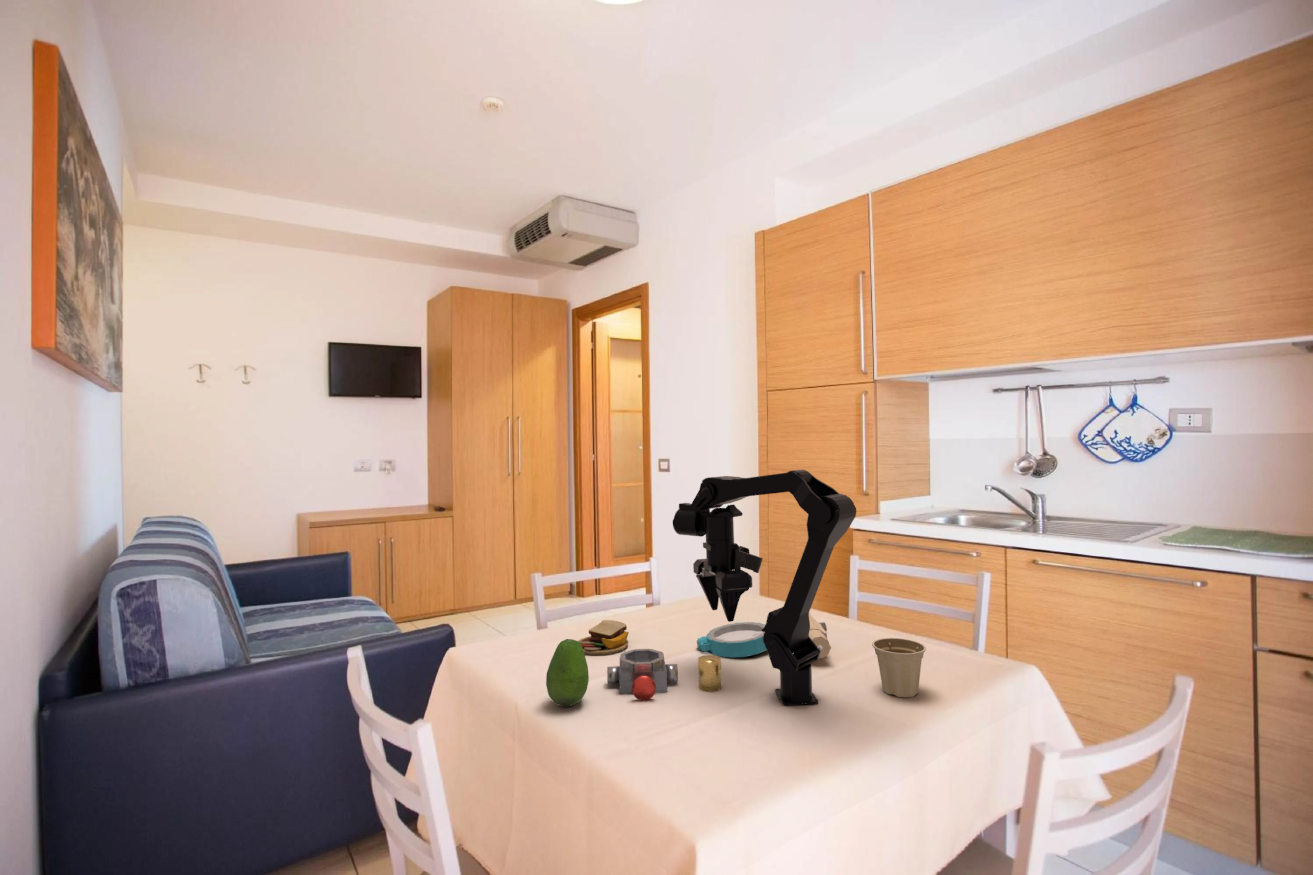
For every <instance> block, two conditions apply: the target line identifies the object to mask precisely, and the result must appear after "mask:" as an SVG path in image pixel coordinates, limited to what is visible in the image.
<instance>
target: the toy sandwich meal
mask: <svg viewBox="0 0 1313 875" xmlns="http://www.w3.org/2000/svg"><path fill="white" fill-rule="evenodd" d="M627 630H628V628H627V624H625V623H624V622H621V621H617V620H611V619H603V620H602V621H601V622H599V623H598V624H596V625H595V626H593V627H591V628H590V629H588V634H589V635H590V636H586V637H583V638H580V639H579V640H578V641H579V642H580V643H581V645H582V648H583V651H584V655H590V656H608V655H613V654H616V653H619V652H622V651H623V650H625V648H626V647H627V646H628V645H629V640H628V636H629V634H630V633H629V631H627Z"/></svg>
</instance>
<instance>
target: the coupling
mask: <svg viewBox="0 0 1313 875" xmlns="http://www.w3.org/2000/svg"><path fill="white" fill-rule="evenodd" d="M697 666H698V667H697V668H698V688H699V690H701V691H702V692H708V693H710V692H711V693H713V692H718V691H721V689H722V658H721V656H717V655H714V654H705V655H701V656H698V658H697Z"/></svg>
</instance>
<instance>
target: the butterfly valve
mask: <svg viewBox="0 0 1313 875" xmlns="http://www.w3.org/2000/svg"><path fill="white" fill-rule="evenodd" d="M809 621H810V630H809V635H808V636H809V637H810V638H811V640H812V641H813V642H814V643H815V645H816V646H817V647H818V648H819V650H820V655H819V658H818V659H823V658H825V657H827V656H828V655H829V654H830V651H831V648H832V647H831V644H830V642H829V639H828V632H827V631H828V630H827V629H828V628H827V624H826V623H825V622H824V621H823V622H818V621H817V619H815V617H814V616H813V615H812V614H811V613H810V612H809ZM765 625H766V623H765V624H764V623H761V622H753V621H750V622H749V621H744V622H733V623H728V624H723V625H720V626H718V627H714V628H713V629H711V630H709V632H708V633H706V636H701V637H698V638H697V640H696V647H697V649H698V651H701V652H707V651H709V652H710V653H711V654H712V655H715V656H718V657H720V658H721V657H722V658H724V657H725V658H745V657H749V656H755V655H759V654H761V653H764V652H765V651H767V649H766V647H765V644H764V643H763V635H764V633H765V632H762V629H763V628H764V627H765Z"/></svg>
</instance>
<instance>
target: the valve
mask: <svg viewBox="0 0 1313 875" xmlns="http://www.w3.org/2000/svg"><path fill="white" fill-rule="evenodd" d="M619 655H620V656H619V665H617V666H615V665H613V666H607V670H606V673H607V675H606V678H607V679H606V680H607V685H616V684H619V695H630V694H631V695H633V696H634V698H636V699H637V700H639V701H642V702H645V701H649V700H651V699H652V698H653V697H654V696H655V695H656V693H668V682H679V671H678V663H670V664H669V663H666V661H665V655H664V652H663V651H660V650H657V649H653V648H636V649H630V650H627V651H625V652H622V653H620V654H619Z"/></svg>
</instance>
